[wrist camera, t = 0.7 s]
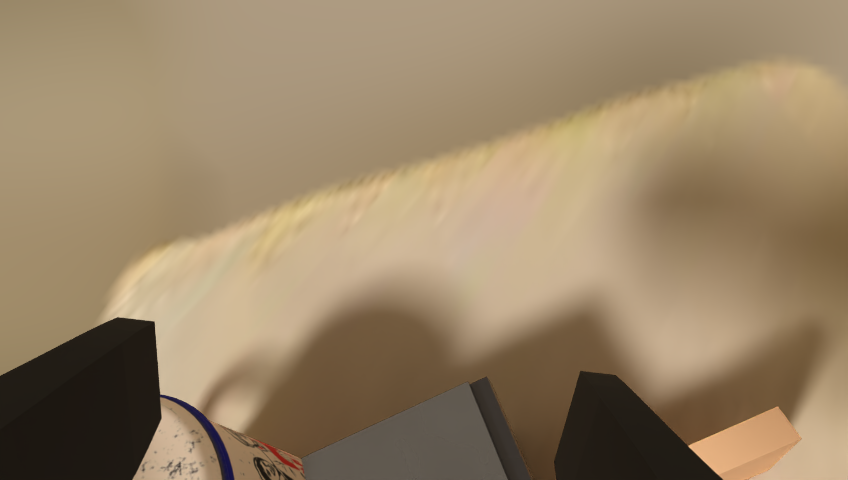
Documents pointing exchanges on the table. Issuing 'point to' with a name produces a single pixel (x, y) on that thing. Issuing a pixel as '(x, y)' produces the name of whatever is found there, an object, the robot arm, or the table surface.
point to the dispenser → (429, 443)
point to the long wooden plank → (748, 446)
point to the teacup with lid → (210, 451)
